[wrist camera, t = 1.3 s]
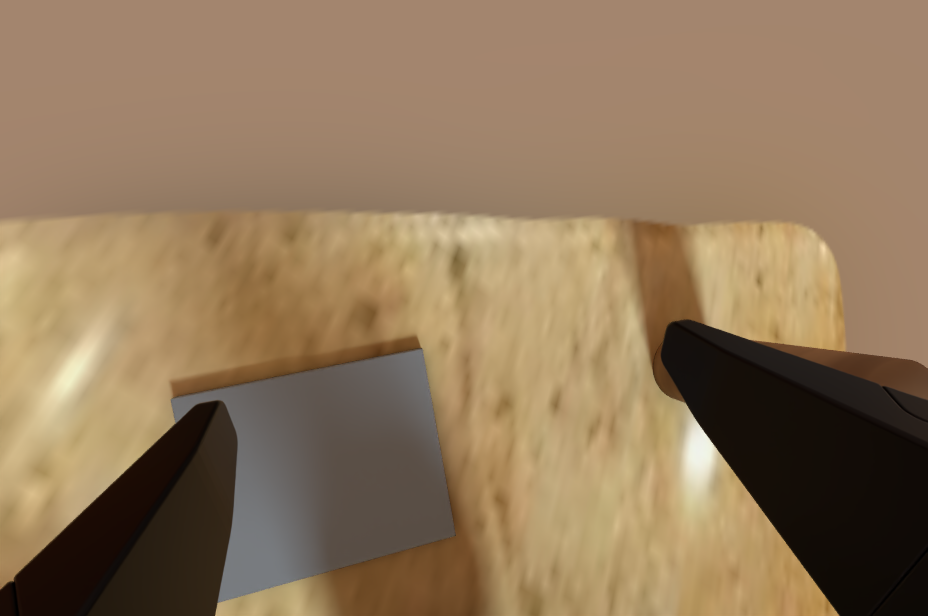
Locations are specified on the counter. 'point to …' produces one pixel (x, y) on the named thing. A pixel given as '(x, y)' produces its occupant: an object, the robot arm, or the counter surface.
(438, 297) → the counter surface
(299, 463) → the slate mat
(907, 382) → the walnut peg
